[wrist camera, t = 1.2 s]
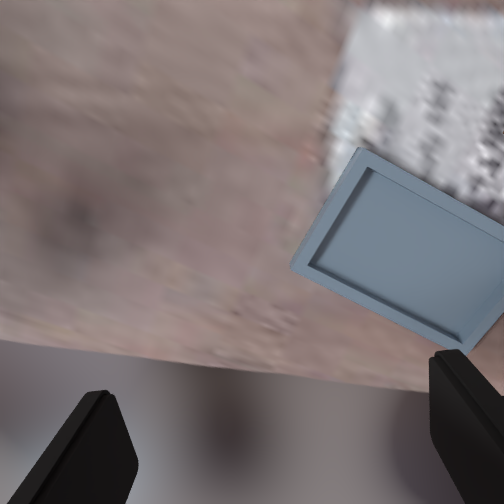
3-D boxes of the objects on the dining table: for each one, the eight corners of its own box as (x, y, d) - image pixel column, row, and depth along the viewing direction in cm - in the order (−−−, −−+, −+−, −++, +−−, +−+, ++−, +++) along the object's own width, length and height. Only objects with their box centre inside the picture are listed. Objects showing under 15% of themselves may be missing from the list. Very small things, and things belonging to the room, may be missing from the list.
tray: (357, 147, 32) (363, 147, 31) (537, 247, 35) (553, 254, 33) (289, 263, 36) (290, 269, 35) (455, 346, 39) (464, 357, 37)
